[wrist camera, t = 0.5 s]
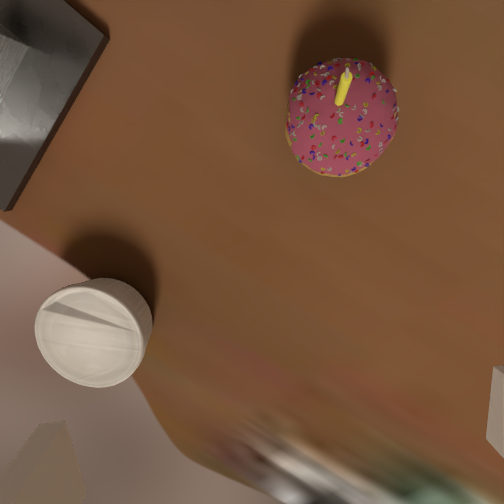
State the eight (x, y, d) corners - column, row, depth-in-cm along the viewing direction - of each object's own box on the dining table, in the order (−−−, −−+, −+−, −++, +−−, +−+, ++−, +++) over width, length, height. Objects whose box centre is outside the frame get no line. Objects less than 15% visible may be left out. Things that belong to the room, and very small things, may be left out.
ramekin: (137, 256, 35) (113, 272, 30) (177, 345, 38) (160, 374, 33) (49, 284, 37) (12, 304, 32) (92, 367, 39) (65, 398, 34)
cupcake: (267, 105, 30) (258, 73, 18) (356, 51, 28) (408, -22, 16) (309, 190, 31) (325, 210, 20) (395, 145, 30) (467, 137, 18)
